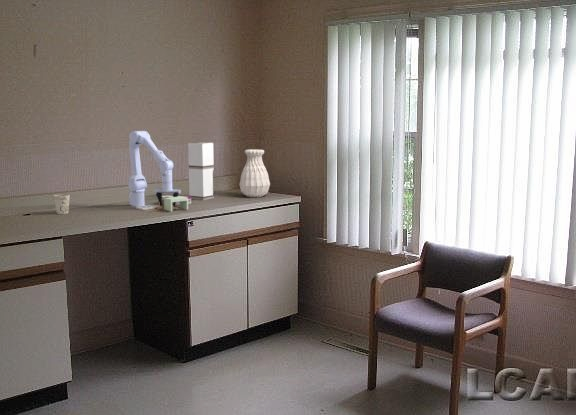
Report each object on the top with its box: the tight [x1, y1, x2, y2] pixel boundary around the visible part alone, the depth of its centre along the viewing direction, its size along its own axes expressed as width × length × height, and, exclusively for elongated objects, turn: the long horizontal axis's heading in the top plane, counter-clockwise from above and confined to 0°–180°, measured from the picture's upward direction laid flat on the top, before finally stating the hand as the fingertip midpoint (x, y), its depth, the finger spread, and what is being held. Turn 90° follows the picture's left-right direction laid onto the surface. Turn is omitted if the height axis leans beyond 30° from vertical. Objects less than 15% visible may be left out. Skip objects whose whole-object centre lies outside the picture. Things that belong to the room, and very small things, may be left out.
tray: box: [135, 204, 156, 211], centre depth 370 cm, size 8×8×1 cm
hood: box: [164, 195, 189, 213], centre depth 364 cm, size 7×11×7 cm, turn 131°
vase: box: [239, 148, 271, 198], centre depth 423 cm, size 20×20×30 cm
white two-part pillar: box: [187, 141, 215, 201], centre depth 413 cm, size 11×11×35 cm
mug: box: [53, 193, 71, 215], centre depth 361 cm, size 8×13×10 cm, turn 27°
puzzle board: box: [133, 204, 187, 214], centre depth 369 cm, size 23×22×1 cm
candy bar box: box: [158, 195, 192, 206], centre depth 389 cm, size 11×5×16 cm
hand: (167, 205), depth 371 cm, fingers open, 7 cm apart
